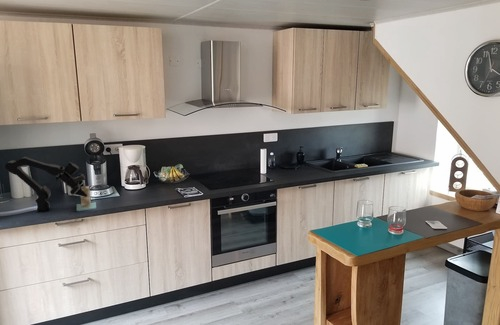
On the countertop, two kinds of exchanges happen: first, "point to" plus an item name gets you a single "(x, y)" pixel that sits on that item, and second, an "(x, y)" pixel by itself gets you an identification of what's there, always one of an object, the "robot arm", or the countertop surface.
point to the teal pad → (92, 206)
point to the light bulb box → (71, 189)
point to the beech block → (86, 200)
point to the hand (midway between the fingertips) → (87, 194)
